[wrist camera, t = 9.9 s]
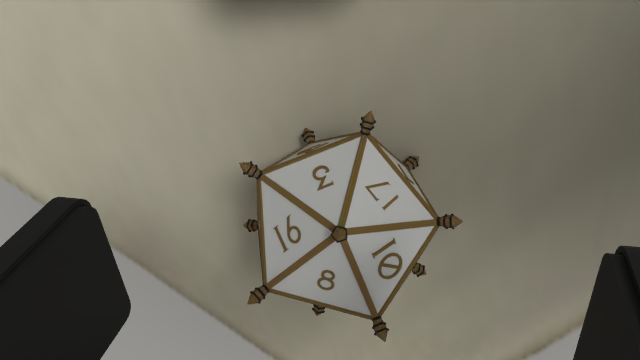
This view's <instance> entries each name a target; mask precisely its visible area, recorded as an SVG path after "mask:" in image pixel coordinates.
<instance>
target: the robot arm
mask: <svg viewBox="0 0 640 360" xmlns="http://www.w3.org/2000/svg"><path fill="white" fill-rule="evenodd" d="M130 309H131V304H130V299H129V297H128V294H127V291H126V289H125V286H124V283H123V280H122V278H121V275H120V272H119V269H118V267H117V264H116V261H115V259H114V256H113V253H112V250H111V247H110V245H109V242H108V239H107V237H106V234H105V231H104V228H103V226H102V223H101V220H100V217H99V215H98V212H97V211H96V209H95V208H93V207H92V206H91V205H90V203H89V202H88V201H87V200H84V199H77V198H66V197H57V198H54V199H52V200H51V201H49V202H48V203H47V204H46V205H45V206H44V207H43V208H42V209H41V210H40V211H39V212H38V213H37V214H36V215H34V216H33V217H32V218H31V219H30V220H29V221H28V222H27V223H26V224H25V225H24V226H23V227H22V228H20V229H19V230H18V231H17V232H16V233H15V234H14V235H13V236H12V237H11V238H10V239H9V240H8V241H6V242H5V243H4V244H3V245H2V246H1V247H0V360H100V359H101V357H102V356H103V354H104V353H105V351H106V350H107V349H108V347H109V345H110V344H111V343H112V341H113V340H114V338H115V337H116V335H117V334H118V332H119V331H120V329H121V327H122V326H123V325H124V323H125V322H126V320H127V318H128V317H129V314H130ZM573 360H640V247H632V246H619V247H618V248H617V250H616V252H615V254H609V253H606V254H604V256H603V258H602V261H601V264H600V268H599V271H598V275H597V278H596V282H595V285H594V289H593V292H592V296H591V299H590V303H589V306H588V310H587V313H586V317H585V320H584V323H583V327H582V330H581V334H580V337H579V341H578V344H577V348H576V352H575V355H574V358H573Z"/></svg>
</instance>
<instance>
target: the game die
mask: <svg viewBox="0 0 640 360" xmlns="http://www.w3.org/2000/svg"><path fill="white" fill-rule="evenodd" d="M361 119H362V123H360V126H361V131H360V132H358V133H353V134H348V135H343V136H338V137H334V138H329V139H324V140H319V141H315V135H313V134H314V131H310V130H309V129H307V128H305V131H304V134H303V135H302V137H303V138H304V141H305V142H306V143H307V145H305V146H304V147H302V148H300V149H298V150H297V151H295V152H293V153H292V154H290V155H288V156H286V157H285V158H283V159H281V160H280V161H278V162H276V163H274V164H273V165H271V166H269V167H268V168H266V169H264V170H262V171H261V170H259V169H258V167H257V165H254V164H252V161H251V162H248V163H239V164H240V166H241V168H242V170H243V174H244V175H245V174H247V175H249V176H248V177H255V178H256V179H257V216H258V221H256V220H250V219H248V222H247V223H246V224H245V225H244V227H246V228H247V229H248V231H249V232H251V231H253V232H255V231H256V230H257V229H258V235H259V246H260V257H261V268H262V279H263V285H262V286H261V287H259V288H255V290H254V291H253V292H252V291H251V292H250V293H251V294H250V297H249V301H248V304H254V303H259V304H260V301H261V300H262V299H265V296H266V294H267V293H269V292H271V293H274V294H278V295H282V296H285V297H289V298H293V299H296V300H300V301H304V302H308V303H311V304H314V307H313V308H312V310H313V311H314V312H315V314H316V315H317V316H318V315H319V314H321V313H324V312H325V311H324V309H325V307H326V308H330V309H333V310H337V311H341V312H344V313H348V314H352V315H355V316H359V317H363V318H366V319H370V320H372V321H373V327H372V328H373V329H374V331H375V333H374V335H377V336H378V337H379V338H381V339H382V340H383V341H384V342H385V341H386V336H387V331H388V330H389V329H388V328H386V323H385V322H383V320H382V319H381V316H382V314H383V313H384V311H385V310H386V308H387V307H388V305H389V304H390V302H391V301H392V299H393V298H394V296H395V295H396V293H397V292H398V290H399V289H400V287H401V285H402V284H403V282H404V281H405V279H406V278H407V276H408V275H409V273H410V272H411V270H412V272H413V274H416V275H417V277H419V276H420V275H425V274H426V272H425V266H423V265H421V264H419V263H417V261H418V259H419V258H420V256H421V255H422V253H423V251H424V250H425V248H426V247H427V245H428V243H429V242H430V240H431V239H432V237H433V235H434V234H435V232H436V231H437V229H438V227H439V226H443V227H445V228H446V229H448V228H452V229H454V227H456V226H457V225H459V224H460V223H462V222H463V221H462V220H460V219H459V218H457V217H456V216H454V215H453V214H451V215H447V214H445V216H443V217H438V216H437V214H436V212H435V211H434V209H433V207H432V206H431V204H430V203H429V201H428V199H427V198H426V196H425V195H424V193H423V191H422V190H421V188H420V186H419V185H418V183H417V182H416V180H415V178H414V177H413V175H412V174H411V172H410V170H411V169H415V167H417V166H419V165H418V160H419V157H412V156H410V157H409V159H407V160H406V162H405V164H403V163H402V162H401V161H400V160H399V159H398V158H396V157H395V156H394V155H393V154H392V153H391V152H390V151H388V150H387V149H386V148H385V147H384V146H383V145H382V144H381V143H379V142H378V141H377V140H376V139H375V138H374V137H373V136H371V135H370V131H371V130H372V129H373V128H374V126H373V125H374V123H376V121H375V120H374V117H373V114H372V111H370V112H369V113H368V114H366V115H365V116H364V117H361Z"/></svg>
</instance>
